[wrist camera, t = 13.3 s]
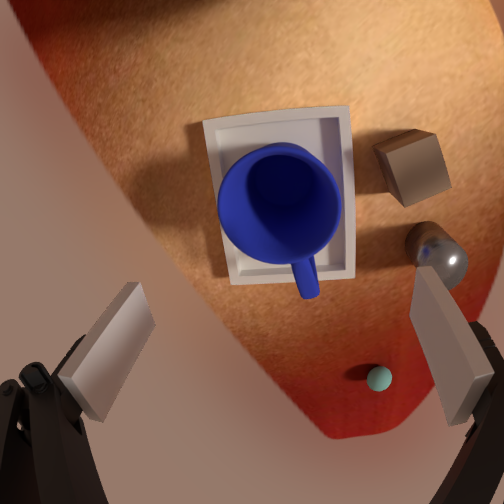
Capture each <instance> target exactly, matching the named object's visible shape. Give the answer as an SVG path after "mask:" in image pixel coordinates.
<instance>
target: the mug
mask: <svg viewBox="0 0 504 504" xmlns="http://www.w3.org/2000/svg"><path fill="white" fill-rule="evenodd" d="M217 210H218V216H219V220H220V223H221V226H222V228H223V230H224V232H225V234H226V235H227V237H228V238H229V240H230V241H231V242H232V243H233V244H234V245H235V246H236V247H237V248H238V249H239V250H240V251H241V252H243V253H244V254H246V255H247V256H249V257H251V258H253V259H255V260H258V261H261V262H264V263H269V264H277V265H284V264H291V268H292V272H293V275H294V278H295V281H296V284H297V287H298V290H299V292H300V295H301V297H302V298H303V299H311V298H314V297H317V296H318V295H319V293H320V290H319V283H318V276H317V270H316V264H315V259H314V255H315V254H317V253H318V252H319V251H321V250H322V249H323V248H324V247H325V246H326V245H327V244H328V243H329V241H330V240H331V239H332V237H333V236H334V234H335V232H336V230H337V228H338V225H339V221H340V218H341V210H342V203H341V196H340V191H339V188H338V185H337V183H336V181H335V179H334V177H333V175H332V174H331V172H330V171H329V170H328V168H327V167H326V166H325V165H324V164H323V163H322V162H321V161H320V160H318V159H317V158H316V157H315V156H313V155H312V154H311V153H310V152H309V151H307V150H306V149H304V148H303V147H301V146H299V145H296V144H293V143H288V142H277V143H272V144H269V145H266V146H264V147H261V148H259V149H256V150H254V151H252V152H250V153H248V154H246V155H244V156H243V157H241V158H240V159H239V160H238V161H236V162H235V163H234V164H233V165H232V166H231V168H230V169H229V170H228V172H227V173H226V175H225V176H224V178H223V180H222V182H221V185H220V188H219V192H218V198H217Z"/></svg>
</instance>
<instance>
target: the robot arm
mask: <svg viewBox="0 0 504 504" xmlns="http://www.w3.org/2000/svg"><path fill="white" fill-rule="evenodd" d="M409 316H410V319H411V321H412V324H413V326H414V329H415V331H416V333H417V336H418V339H419V341H420V344H421V346H422V349H423V351H424V354H425V357H426V359H427V362H428V365H429V368H430V371H431V373H432V376H433V379H434V382H435V385H436V388H437V391H438V394H439V397H440V400H441V403H442V406H443V409H444V413H445V416H446V419H447V423H448V426H453V425H458V424H462V423H465V422H467V420H468V419H469V417H470V415H471V414H473V417H474V420H475V422H474V423H473V425H472V426H471V428H470V429H469V431H468V432H467V434H466V435H465V436H466V440H465V442H464V444H463V446H462V448H461V450H460V452H459V454H458V456H457V457H456V459H455V461H454V463H453V465H452V467H451V469H450V471H449V472H448V474H447V476H446V477H445V479H444V481H443V483H442V484H441V486H440V487H439V489H438V491H437V492H436V494H435V496H434V497H433V498H432V500H431V502H430V503H429V504H490V502H491V500H492V498H493V495H494V493H495V491H496V489H497V487H498V484H499V482H500V480H501V477H502V475H503V473H504V359H503V357H502V356H501V354H500V352H499V350H498V348H497V347H495V343H494V342H493V340H491V337H490V335H489V333H488V331H487V330H486V328H484V327H483V326H482V325H481V324H480V323H478V322H477V321H475V322H469V323H468V322H467V321H466V319H465V317H464V316H463V314H462V312H461V311H460V309H459V307H458V306H457V304H456V302H455V301H454V299H453V298H452V296H451V295H450V293H449V291H448V290H447V288H446V287H445V285H444V284H443V282H442V281H441V279H440V278H439V276H438V275H437V273H436V272H435V270H434V269H433V267H432V266H424V267H417V269H416V277H415V284H414V291H413V297H412V303H411V309H410V314H409ZM154 327H155V322H154V320H153V317H152V314H151V311H150V309H149V306H148V303H147V300H146V298H145V295H144V292H143V289H142V286H141V283H140V282H127V284H126V285H125V286H124V287H123V289H122V290H121V291H120V292H119V294H118V295H117V296H116V297H115V298H114V300H113V301H112V302H111V303H110V305H109V306H108V307H107V309H106V310H105V311H104V312H103V314H102V315H101V316H100V318H99V319H98V320H97V321H96V323H95V324H94V326H93V327H92V328H91V329H90V331H89V332H88V333H87V335H83V336H82V337H81V338H79V339H78V340H77V341H76V342H75V343H74V345H73V346H72V347H71V350H69V351H68V353H67V354H66V356H65V357H64V358H63V360H62V361H61V362H60V364H59V365H58V367H57V368H56V369H55V371H54V372H53V373H52V375H51V376H50V375H49V373H48V371H47V370H46V368H45V367H44V365H43V364H42V363H40V362H33V363H30V364H28V365H26V366H25V367H24V368H23V369H22V371H21V372H20V374H19V379H20V380H21V382H22V383H23V384H24V386H25V387H21V386H20V385H19V384H18V382H17V381H16V380H14V379H10V380H7V381H5V382H3V383H2V384H1V385H0V504H109V503H108V501H107V498H106V495H105V493H104V490H103V487H102V485H101V481H100V478H99V475H98V472H97V470H96V466H95V463H94V460H93V456H92V453H91V450H90V446H89V442H88V439H87V435H86V431H85V427H84V423H83V420H82V418H81V417H80V415H81V413H82V411H84V413H85V414H86V415H87V416H88V417H89V419H92V420H95V421H99V422H104V420H105V418H106V416H107V414H108V412H109V410H110V408H111V406H112V405H113V403H114V401H115V399H116V397H117V395H118V393H119V391H120V389H121V388H122V386H123V384H124V382H125V380H126V378H127V376H128V374H129V373H130V371H131V369H132V367H133V365H134V363H135V362H136V360H137V358H138V356H139V354H140V352H141V351H142V349H143V347H144V345H145V343H146V342H147V340H148V338H149V336H150V334H151V333H152V331H153V329H154ZM17 422H19V423H20V425H21V426H22V427H21V430H19V429H18V428H17ZM503 504H504V502H503Z"/></svg>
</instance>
